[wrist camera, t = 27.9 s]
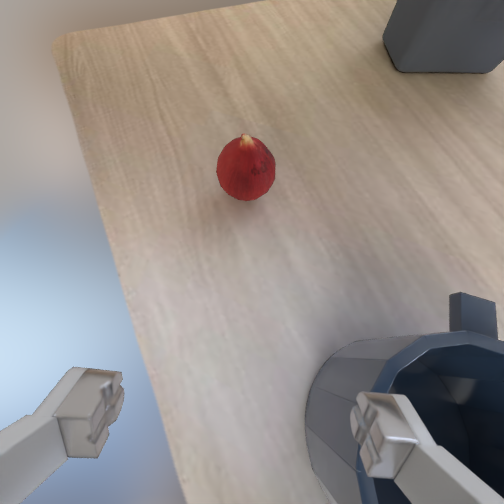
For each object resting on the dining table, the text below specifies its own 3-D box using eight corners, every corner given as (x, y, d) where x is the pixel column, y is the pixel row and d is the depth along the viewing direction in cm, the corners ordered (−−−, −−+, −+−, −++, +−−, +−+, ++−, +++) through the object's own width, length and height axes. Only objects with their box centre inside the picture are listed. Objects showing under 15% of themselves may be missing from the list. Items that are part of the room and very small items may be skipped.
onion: (270, 173, 30) (283, 115, 23) (269, 216, 28) (283, 167, 21) (220, 169, 30) (217, 108, 22) (215, 212, 28) (211, 160, 20)
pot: (469, 337, 25) (599, 328, 16) (478, 627, 18) (727, 900, 9) (327, 293, 25) (378, 261, 17) (278, 558, 18) (324, 753, 9)
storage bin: (475, 32, 45) (578, -102, 32) (518, 95, 40) (665, -35, 26) (361, 30, 42) (422, -117, 29) (391, 97, 37) (483, -46, 24)
